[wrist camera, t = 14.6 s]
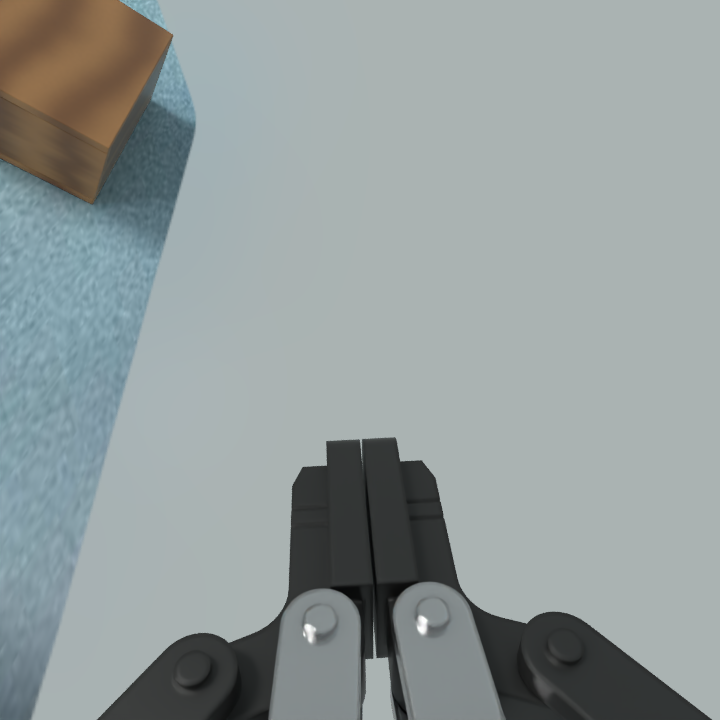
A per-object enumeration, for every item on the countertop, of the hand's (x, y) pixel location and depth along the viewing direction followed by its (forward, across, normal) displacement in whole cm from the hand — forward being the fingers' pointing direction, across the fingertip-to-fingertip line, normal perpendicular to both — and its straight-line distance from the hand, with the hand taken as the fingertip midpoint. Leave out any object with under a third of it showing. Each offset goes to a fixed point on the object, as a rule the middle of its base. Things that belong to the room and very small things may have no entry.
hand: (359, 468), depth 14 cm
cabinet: (+48, +25, +3) cm, 54 cm away
